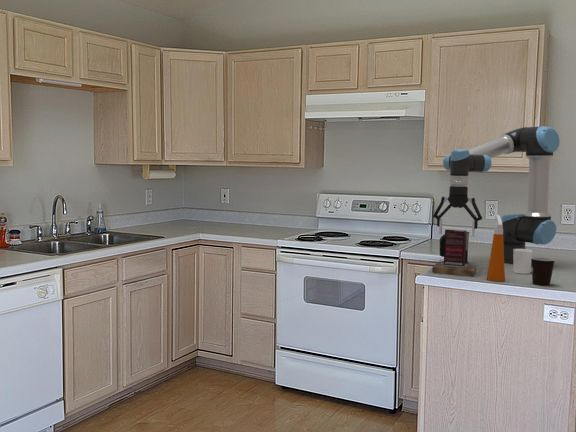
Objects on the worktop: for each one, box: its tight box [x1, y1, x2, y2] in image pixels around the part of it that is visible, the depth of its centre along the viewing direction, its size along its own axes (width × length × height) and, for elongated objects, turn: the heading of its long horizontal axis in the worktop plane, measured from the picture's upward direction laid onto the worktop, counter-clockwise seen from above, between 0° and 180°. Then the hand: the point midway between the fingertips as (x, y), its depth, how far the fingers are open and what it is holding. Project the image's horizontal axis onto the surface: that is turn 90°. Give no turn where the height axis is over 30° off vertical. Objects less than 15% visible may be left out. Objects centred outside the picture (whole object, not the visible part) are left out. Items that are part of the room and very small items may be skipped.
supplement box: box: [443, 229, 468, 268], centre depth 258 cm, size 9×5×16 cm, turn 64°
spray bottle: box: [486, 214, 506, 282], centre depth 245 cm, size 7×11×26 cm, turn 171°
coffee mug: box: [531, 256, 555, 287], centre depth 239 cm, size 12×9×10 cm
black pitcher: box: [439, 231, 470, 264], centre depth 282 cm, size 14×16×15 cm
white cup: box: [512, 248, 534, 275], centre depth 263 cm, size 8×8×10 cm
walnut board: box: [431, 262, 477, 278], centre depth 259 cm, size 17×12×2 cm
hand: (456, 235), depth 258 cm, fingers open, 13 cm apart
